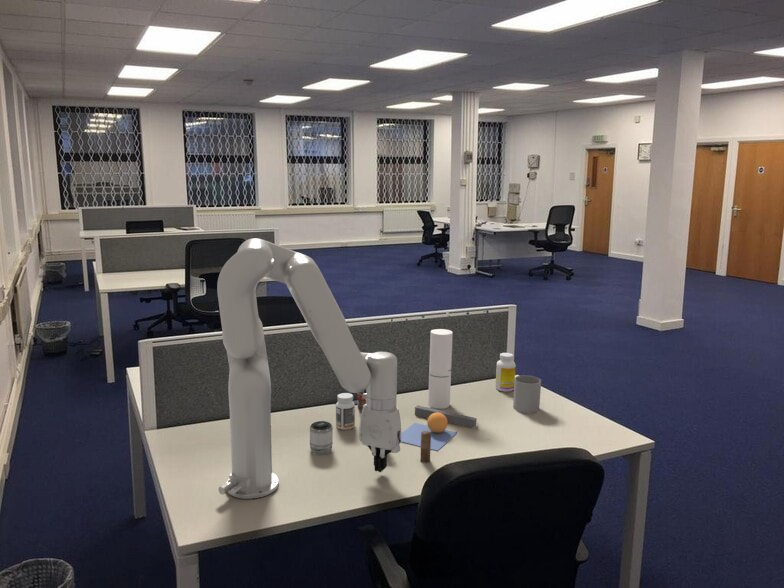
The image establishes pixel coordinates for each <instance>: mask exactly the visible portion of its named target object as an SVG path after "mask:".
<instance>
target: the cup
mask: <svg viewBox="0 0 784 588" xmlns="http://www.w3.org/2000/svg"><path fill="white" fill-rule="evenodd" d="M541 388H542V379H541V378H539V377H537V376H534V375H521V374H520V375H518V376H515V384H514V390H513V403H512V407H513V409H514V410H515V411H516V412H519V413H522V414H535V413H538V412H539V411H540V403H541V391H542V389H541Z"/></svg>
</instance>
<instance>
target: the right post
mask: <svg viewBox="0 0 784 588" xmlns="http://www.w3.org/2000/svg"><path fill="white" fill-rule="evenodd" d="M430 448H431V432H429V431H422V432H421V447H420V462H421V463H423V464H428V463H430V462H431V449H430Z"/></svg>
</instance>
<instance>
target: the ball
mask: <svg viewBox="0 0 784 588" xmlns="http://www.w3.org/2000/svg"><path fill="white" fill-rule="evenodd" d="M448 423H449V422H447V418H446V417H445V416H444V415H443V414H442V413H438V412H437V413H433V414H431V415H430V416H429V418H427V422H426V424H427V426H428V427H429V429H430V430H431V431H432V432H434V433H441V432H443V431H444V430H447V427H448Z"/></svg>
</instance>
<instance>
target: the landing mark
mask: <svg viewBox="0 0 784 588" xmlns="http://www.w3.org/2000/svg"><path fill="white" fill-rule="evenodd" d="M422 431H429V432H431V448H430V451H431V450H432V451H435V452H438V451H440V450H441V449H442V448H443V447H444V446H445V445H446V444H447V443H448V442H449V441H451V439H452V438H454V437H455V435H457V434H458V432H457V431H452V430H448V429H445V430H444V431H443V432H441V433H434V432H432V431H431V430H430V429H429V427H428V424H427V425H426V424H423V423H417V422H414V423H412V424H411V425H410V426H408V427H407V428H406V429H405V430H403V431H401V443H404V444H407V445H412V446H415V447H420V448H421V432H422Z"/></svg>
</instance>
